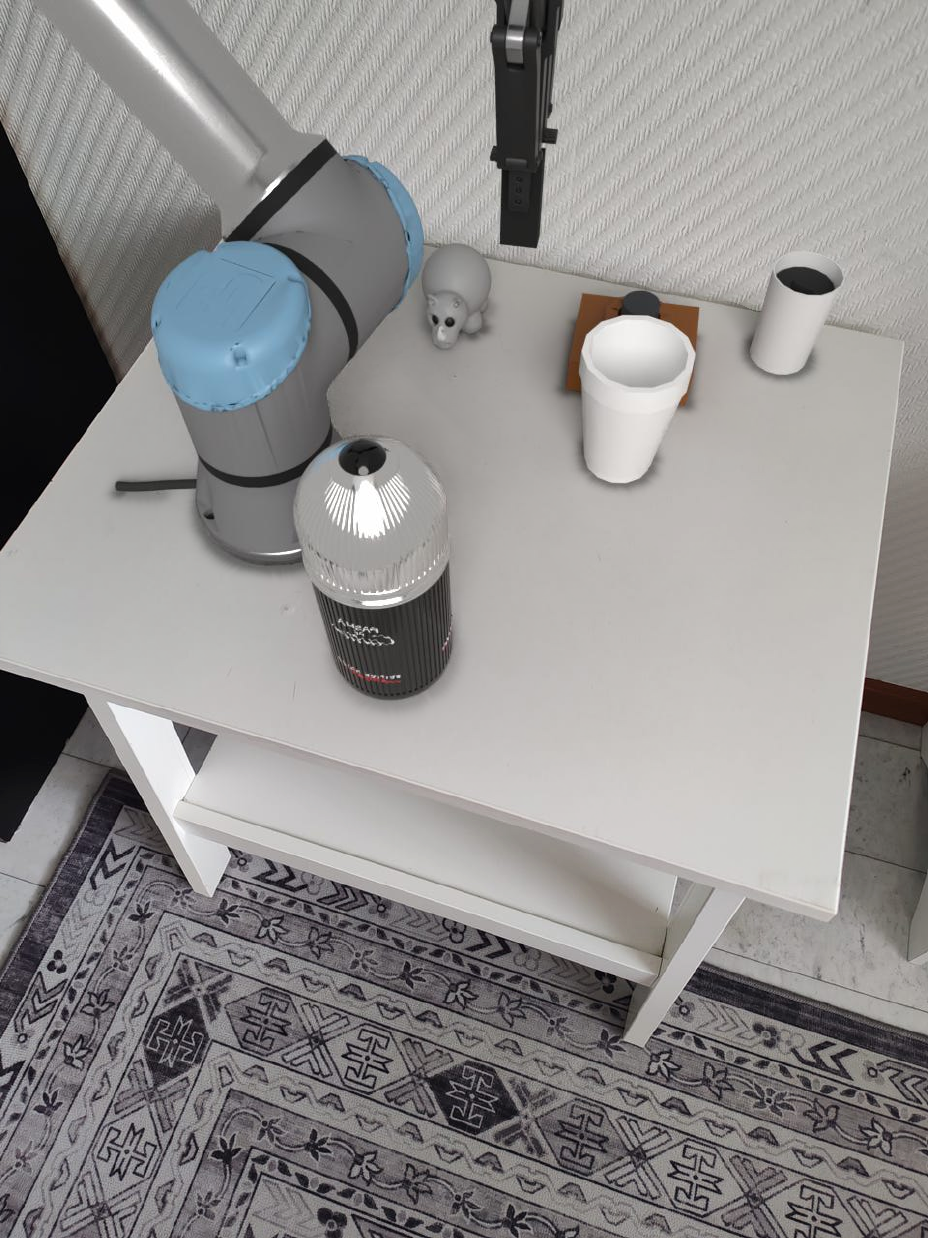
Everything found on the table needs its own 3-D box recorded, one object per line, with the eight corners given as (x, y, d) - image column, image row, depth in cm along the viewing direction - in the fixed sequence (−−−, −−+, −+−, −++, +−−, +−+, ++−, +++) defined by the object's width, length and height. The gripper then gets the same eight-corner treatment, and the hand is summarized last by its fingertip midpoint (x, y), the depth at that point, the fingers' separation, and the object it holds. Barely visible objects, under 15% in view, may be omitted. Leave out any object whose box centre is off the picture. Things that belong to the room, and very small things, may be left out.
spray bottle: (440, 718, 71) (425, 530, 49) (317, 696, 72) (251, 502, 51) (466, 611, 76) (462, 399, 55) (351, 592, 77) (303, 376, 56)
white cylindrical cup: (809, 382, 90) (844, 301, 81) (743, 372, 91) (770, 290, 82) (811, 338, 93) (845, 255, 85) (747, 328, 94) (774, 246, 86)
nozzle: (618, 329, 86) (621, 312, 84) (621, 305, 88) (624, 287, 86) (655, 334, 86) (659, 317, 84) (658, 309, 88) (662, 292, 86)
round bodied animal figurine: (404, 367, 92) (398, 299, 84) (433, 292, 98) (429, 223, 90) (472, 378, 91) (472, 310, 83) (497, 302, 97) (498, 232, 89)
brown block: (565, 389, 90) (571, 343, 85) (578, 323, 95) (584, 276, 90) (685, 405, 88) (697, 359, 83) (691, 337, 93) (703, 290, 88)
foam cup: (657, 505, 82) (685, 403, 71) (559, 485, 83) (572, 381, 72) (672, 431, 87) (701, 324, 75) (579, 413, 88) (594, 306, 77)
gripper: (601, -125, 40) (558, 305, 60) (629, -227, 46) (582, 191, 67) (438, -136, 41) (450, 292, 61) (489, -235, 47) (484, 181, 67)
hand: (519, 239), depth 64 cm, fingers closed
